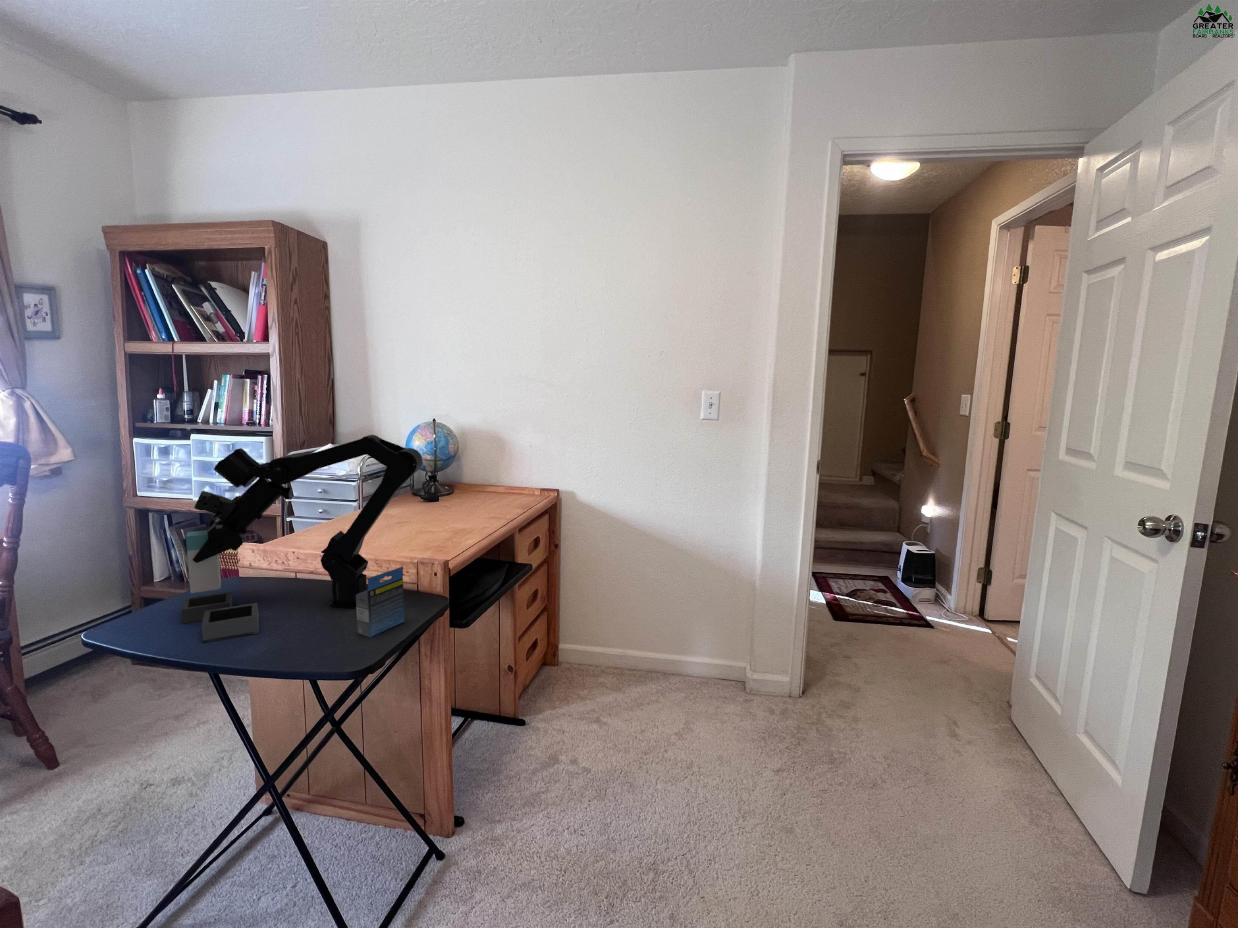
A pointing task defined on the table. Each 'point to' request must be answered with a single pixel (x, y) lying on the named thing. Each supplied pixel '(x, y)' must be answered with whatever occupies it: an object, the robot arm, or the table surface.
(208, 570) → the plug
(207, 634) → the port
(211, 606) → the frame
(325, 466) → the robot arm
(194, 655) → the table surface
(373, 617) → the label tape cartridge
